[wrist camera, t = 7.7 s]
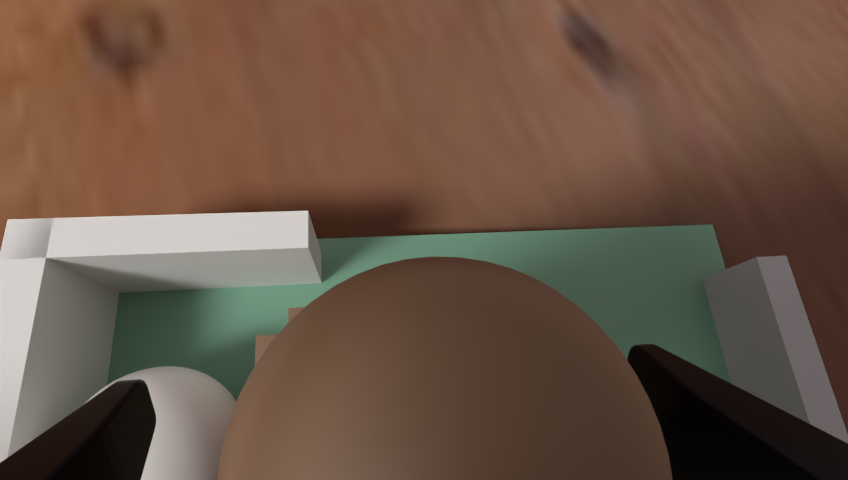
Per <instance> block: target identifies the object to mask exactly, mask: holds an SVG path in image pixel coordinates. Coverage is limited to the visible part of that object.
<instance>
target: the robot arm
mask: <svg viewBox="0 0 848 480" xmlns="http://www.w3.org/2000/svg"><path fill="white" fill-rule="evenodd" d="M627 361H628V363H629V364H630V366H631V367H632V368H633V370H634V371H635V373H636V375H637V377H638V378H639V380H640V382H641V384H642V386H643V388H644V390H645V392H646V393H647V395H648V397H649V399H650V402H651V404H652V407H653V409H654V412H655V414H656V417H657V419H658V421H659V424H660V427H661V430H662V434H663V437H664V441H665V444H666V448H667V451H668V455H669V460H670V466H671V472H672V478H673V480H848V443H846V442H844V441H842V440H840V439H838V438H836V437H834V436H832V435H831V434H829V433H827V432H825V431H823V430H821V429H819V428H817V427H815V426H813V425H811V424H809V423H807V422H805V421H803V420H801V419H799V418H797V417H795V416H793V415H792V414H790V413H788V412H786V411H784V410H782V409H780V408H778V407H776V406H774V405H772V404H770V403H768V402H766V401H764V400H762V399H760V398H758V397H756V396H754V395H753V394H751V393H749V392H747V391H745V390H743V389H741V388H739V387H737V386H735V385H733V384H731V383H729V382H727V381H725V380H723V379H721V378H719V377H717V376H715V375H714V374H712V373H710V372H708V371H706V370H704V369H702V368H700V367H698V366H696V365H694V364H692V363H690V362H688V361H686V360H684V359H682V358H680V357H678V356H676V355H675V354H673V353H671V352H669V351H667V350H665V349H663V348H661V347H659V346H657V345H655V344H638V345H634V346H632V347H631V348H630V350H629V354H628V358H627ZM155 426H156V414H155V410H154V407H153V403H152V400H151V396H150V393H149V390H148V386H147V384H146V383H145V381H143V380H141V379H135V380H122V381H117V382H115V383H114V384H112V385H111V386H109V387H108V388H106V389H105V390H103V391H102V392H101V393H99V394H98V395H96V396H95V397H93V398H92V399H91V400H89V401H88V402H86V403H85V404H83V405H82V406H81V407H79V408H78V409H76V410H75V411H73V412H72V413H71V414H69V415H68V416H66V417H65V418H63V419H62V420H61V421H59V422H58V423H56V424H55V425H53V426H52V427H51V428H49V429H48V430H46V431H45V432H43V433H42V434H41V435H39V436H38V437H36V438H35V439H33V440H32V441H30V442H29V443H28V444H26V445H25V446H23V447H22V448H20V449H19V450H18V451H16V452H15V453H13V454H12V455H10V456H9V457H8V458H6V459H5V460H3V461H2V462H0V480H141V477H142V473H143V470H144V466H145V463H146V459H147V455H148V452H149V448H150V445H151V441H152V438H153V434H154V431H155Z"/></svg>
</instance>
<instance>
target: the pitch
mask: <svg viewBox="0 0 848 480" xmlns="http://www.w3.org/2000/svg"><path fill="white" fill-rule="evenodd" d="M431 256H433V257H461V258H468V259H474V260H481V261H487V262H490V263H494V264H498V265H501V266H505V267H509V268H511V269H514V270H516V271H519V272H521V273H524V274H526V275H528V276H531V277H533V278H535V279H537V280H539V281H540V282H542V283H544V284H546V285H548V286H549V287H551V288H553V289H555V290H556V291H558V292H559V293H561V294H562V295H563V296H565V297H566V298H567V299H569V300H570V301H572V302H573V303H574V304H576V305H577V306H578V307H579V308H580V309H582V310H583V311H584V312H585V313H586V314H587V315H588V316H589V317H590V318H591V319H592V320H593V321H595V322H596V323H597V324H598V325H599V326H600V328H601V329H602V330H603V331H604V332H605V333H606V334H607V336H608V337H609V338H610V339H611V340H612V341H613V343H614V344H615V345H616V346H617V347H618V348H619V350H620V351H621V352H622V354H623V355H624V357H625V358H626V360H627V358H628V354H629V350H630V348H631V347H632V346H634V345H638V344H655V345H657V346H659V347H661V348H663V349H665V350H667V351H669V352H671V353H673V354H675V355H676V356H678V357H680V358H682V359H684V360H686V361H688V362H690V363H692V364H694V365H696V366H698V367H700V368H702V369H704V370H706V371H708V372H710V373H712V374H714V375H715V376H717V377H719V378H721V379H723V380H725V381H727V382H729V383H731V384H733V385H735V386H737V387H739V388H741V389H743V390H745V391H747V392H749V393H751V394H753V395H754V396H756V397H758V398H760V399H762V400H764V401H766V402H768V403H770V404H772V405H774V406H776V407H778V408H780V409H782V410H784V411H786V412H788V413H790V414H792V415H793V416H795V417H797V418H799V419H801V420H803V421H805V422H807V423H809V424H811V425H813V426H815V427H817V428H819V429H821V430H823V431H825V432H827V433H829V434H831V435H832V436H834V437H836V438H838V439H840V440H842V441H844V442H846V443H848V433H847V431H846V428H845V425H844V422H843V419H842V416H841V413H840V410H839V407H838V404H837V401H836V399H835V396H834V393H833V390H832V387H831V384H830V381H829V378H828V375H827V372H826V369H825V366H824V364H823V361H822V358H821V355H820V352H819V349H818V346H817V343H816V340H815V337H814V334H813V332H812V329H811V326H810V323H809V320H808V317H807V314H806V311H805V308H804V305H803V302H802V300H801V297H800V294H799V291H798V288H797V285H796V282H795V279H794V276H793V273H792V270H791V268H790V265H789V262H788V259H787V256H767V257H755V258H753V259H750V260H748V261H745V262H743V263H740V264H738V265H735V266H733V267H730V268H728V269H726V268H725V264H724V261H723V258H722V254H721V251H720V247H719V244H718V241H717V237H716V234H715V231H714V227H713V224H709V225H682V226H654V227H627V228H600V229H573V230H545V231H518V232H491V233H463V234H436V235H409V236H381V237H354V238H327V239H317V237H316V234H315V231H314V227H313V224H312V221H311V218H310V215H309V211H280V212H246V213H212V214H178V215H144V216H110V217H76V218H42V219H8V220H7V225H6V229H5V234H4V238H3V243H2V247H1V251H0V462H2V461H3V460H5V459H6V458H8V457H9V456H10V455H12V454H13V453H15V452H16V451H18V450H19V449H20V448H22V447H23V446H25V445H26V444H28V443H29V442H30V441H32V440H33V439H35V438H36V437H38V436H39V435H41V434H42V433H43V432H45V431H46V430H48V429H49V428H51V427H52V426H53V425H55V424H56V423H58V422H59V421H61V420H62V419H63V418H65V417H66V416H68V415H69V414H71V413H72V412H73V411H75V410H76V409H78V408H79V407H81V406H82V405H83V404H84V403H85V402H86V401H87V400H89V399H90V398H91V397H92V396H93V395H94V394H96V393H97V392H98V391H100V390H101V389H102V388H103V387H105V386H107V385H108V384H110V383H111V382H113V381H115V380H117V379H119V378H121V377H123V376H126V375H128V374H130V373H133V372H136V371H139V370H143V369H148V368H153V367H162V366H175V367H185V368H189V369H193V370H197V371H199V372H202V373H205V374H207V375H209V376H210V377H212V378H214V379H215V380H217V381H218V382H219V383H221V384H222V385H223V386H224V387H225V388H226V389H227V390H228V391H229V392H230V393H231V394H232V396H233V397H234V399H235V400H236V402H237V400H238V397H239V395H240V393H241V391H242V389H243V387H244V385H245V383H246V381H247V380H248V378H249V376H250V374H251V372H252V370H253V368H254V367H255V346H256V336H257V335H273V334H279V333H280V332H281V330H282V329H283V328H284V327H285V326H286V325H287V324H288V308H299V307H306V306H307V305H308V304H309V303H310V302H312V301H313V300H315V299H316V298H318V297H319V296H320V295H322V294H323V293H325V292H326V291H328V290H329V289H331V288H332V287H333V286H335V285H337V284H339V283H341V282H343V281H345V280H347V279H349V278H351V277H352V276H354V275H356V274H359V273H361V272H364V271H367V270H369V269H372V268H375V267H377V266H380V265H384V264H388V263H392V262H396V261H400V260H405V259H412V258H422V257H431Z"/></svg>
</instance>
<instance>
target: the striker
mask: <svg viewBox="0 0 848 480" xmlns="http://www.w3.org/2000/svg"><path fill="white" fill-rule="evenodd" d="M217 480H673V478H672V472H671V466H670V460H669V455H668V451H667V448H666V444H665V441H664V437H663V434H662V430H661V427H660V424H659V421H658V419H657V417H656V414H655V412H654V409H653V407H652V404H651V402H650V399H649V397H648V395H647V393H646V392H645V390H644V388H643V386H642V384H641V382H640V380H639V378H638V377H637V375H636V373H635V371H634V370H633V368H632V367H631V366H630V364H629V363H628V361H627V360H626V358H625V357H624V355H623V354H622V352H621V351H620V350H619V348H618V347H617V346H616V345H615V344H614V343H613V341H612V340H611V339H610V338H609V337H608V336H607V334H606V333H605V332H604V331H603V330H602V329H601V328H600V326H599V325H598V324H597V323H596V322H595V321H593V320H592V319H591V318H590V317H589V316H588V315H587V314H586V313H585V312H584V311H583V310H582V309H580V308H579V307H578V306H577V305H576V304H574V303H573V302H572V301H570V300H569V299H567V298H566V297H565V296H563V295H562V294H561V293H559V292H558V291H556V290H555V289H553V288H551V287H549V286H548V285H546V284H544V283H542V282H540V281H539V280H537V279H535V278H533V277H531V276H528V275H526V274H524V273H521V272H519V271H516V270H514V269H511V268H509V267H505V266H501V265H498V264H494V263H490V262H487V261H481V260H474V259H468V258H461V257H433V256H431V257H422V258H412V259H405V260H400V261H396V262H392V263H388V264H384V265H380V266H377V267H375V268H372V269H369V270H367V271H364V272H361V273H359V274H356V275H354V276H352V277H351V278H349V279H347V280H345V281H343V282H341V283H339V284H337V285H335V286H333V287H332V288H331V289H329V290H328V291H326V292H325V293H323V294H322V295H320V296H319V297H318V298H316V299H315V300H313V301H312V302H310V303H309V304H308V305H307V306H306V307H299V308H288V324H287V325H286V326H285V327H284V328H283V329H282V330H281V332H280V333H279V334H273V335H257V336H256V346H255V367H254V368H253V370H252V372H251V374H250V376H249V378H248V380H247V381H246V383H245V385H244V387H243V389H242V391H241V393H240V395H239V397H238V400H237V403H236V405H235V408H234V411H233V413H232V416H231V419H230V421H229V424H228V427H227V431H226V435H225V439H224V443H223V447H222V451H221V455H220V460H219V468H218V476H217Z"/></svg>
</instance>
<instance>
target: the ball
mask: <svg viewBox="0 0 848 480" xmlns="http://www.w3.org/2000/svg"><path fill="white" fill-rule="evenodd" d="M135 379H141V380H143V381H145V383H146V384H147V386H148V390H149V393H150V396H151V400H152V403H153V407H154V410H155V414H156V426H155V431H154V434H153V438H152V441H151V445H150V448H149V452H148V455H147V459H146V463H145V466H144V470H143V473H142V477H141V480H217V476H218V468H219V460H220V455H221V451H222V447H223V443H224V439H225V435H226V431H227V427H228V424H229V421H230V419H231V416H232V413H233V411H234V408H235V405H236V403H237V402H236V400H235V399H234V397H233V396H232V394H231V393H230V392H229V391H228V390H227V389H226V388H225V387H224V386H223V385H222V384H221V383H219V382H218V381H217V380H215V379H214V378H212V377H210V376H209V375H207V374H205V373H202V372H199V371H197V370H193V369H189V368H185V367H175V366H162V367H153V368H148V369H143V370H139V371H136V372H133V373H130V374H128V375H126V376H123V377H121V378H119V379H117V380H115V381H113V382H111V383H110V384H108V385H107V386H105V387H103V388H102V389H101V390H100V391H98V392H97V393H96V394H94V395H93V396H92V397H91V398H90V399H89V400H91V399H92V398H93V397H95V396H96V395H98V394H99V393H101V392H102V391H103V390H105V389H106V388H108V387H109V386H111V385H112V384H114V383H115V382H117V381H122V380H135ZM89 400H87V401H86V402H88V401H89ZM86 402H85V403H86ZM85 403H84V404H85Z"/></svg>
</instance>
